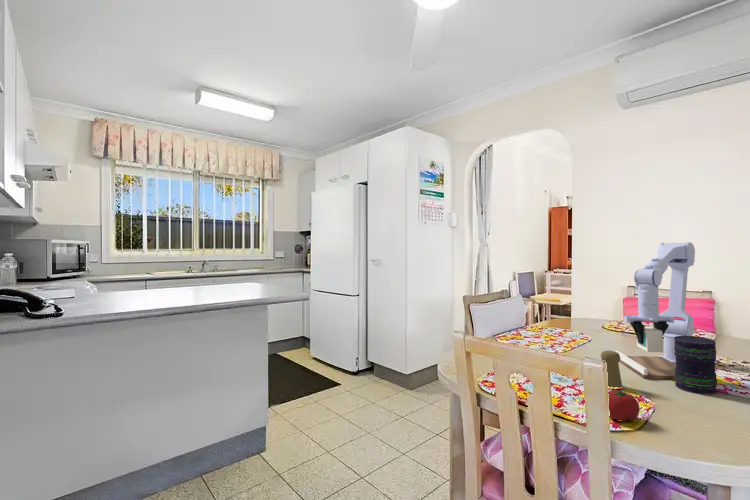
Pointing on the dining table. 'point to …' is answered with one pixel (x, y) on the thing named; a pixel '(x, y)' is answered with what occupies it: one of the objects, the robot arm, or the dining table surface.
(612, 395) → the tomato
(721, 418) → the dining table surface
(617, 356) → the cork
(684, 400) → the dining table surface
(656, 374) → the brown tray
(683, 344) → the dark blue cylinder
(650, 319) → the robot arm
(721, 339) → the dining table surface
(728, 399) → the dining table surface
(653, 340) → the carton
